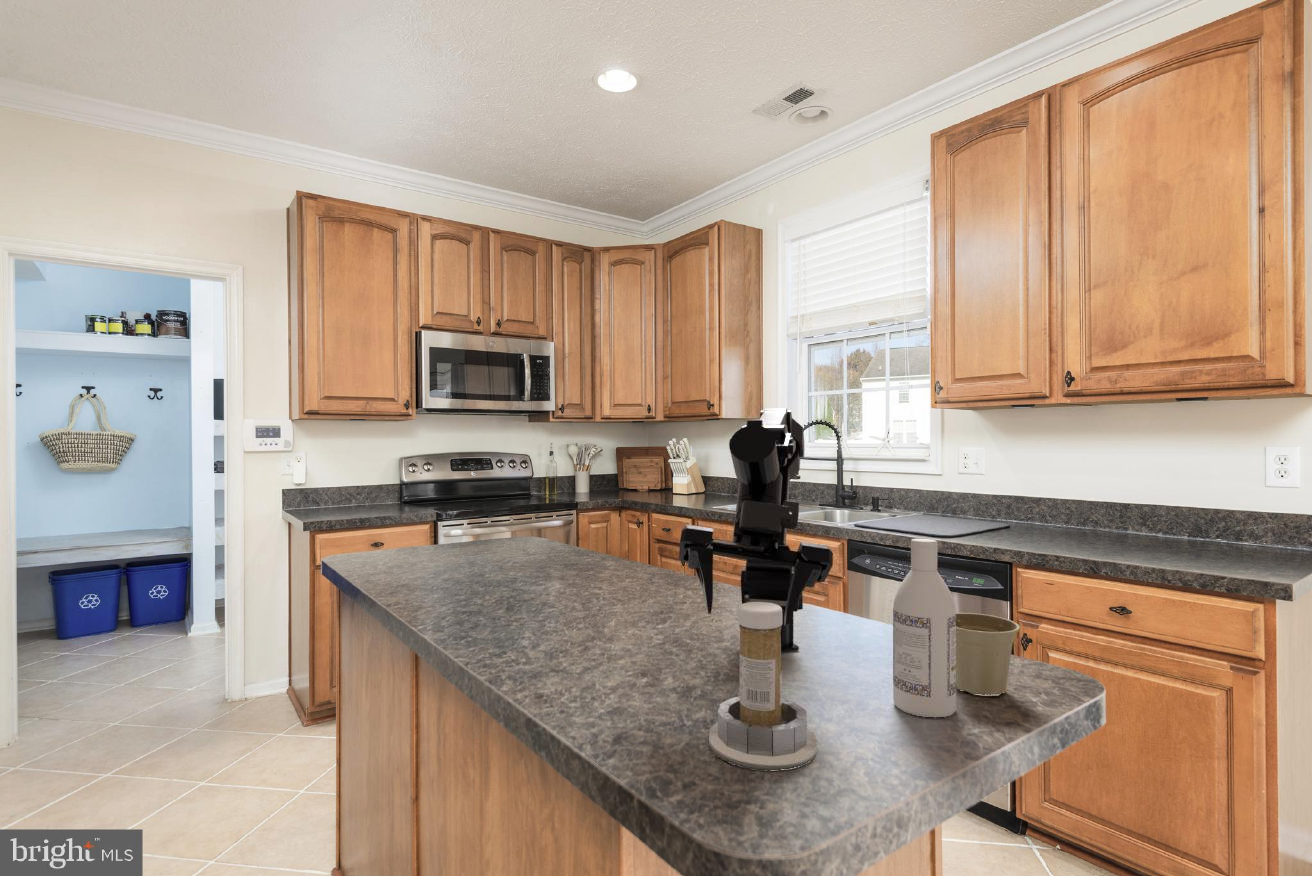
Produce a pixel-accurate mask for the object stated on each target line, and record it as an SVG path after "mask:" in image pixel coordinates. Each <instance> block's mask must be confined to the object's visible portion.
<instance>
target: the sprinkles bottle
mask: <svg viewBox="0 0 1312 876" xmlns="http://www.w3.org/2000/svg"><path fill="white" fill-rule="evenodd" d="M737 613H738V614H737V615H738V616H737V618H738V620H737V622H738V624H739V625H738V627H739V655H738V656H739V697H740V721H742V722H745V723H748V724H751V725H760V726H776V725H781V704H782V699H783V684H782V683H783V682H782V681H783V678H782V677H783V676H782V652H781V635H780V632H781V625H782V608H781V607H780V606H779V605H777V604H773V603H767V602H748V603H744V604H742V603H741V604H739V606H738V611H737Z"/></svg>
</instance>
